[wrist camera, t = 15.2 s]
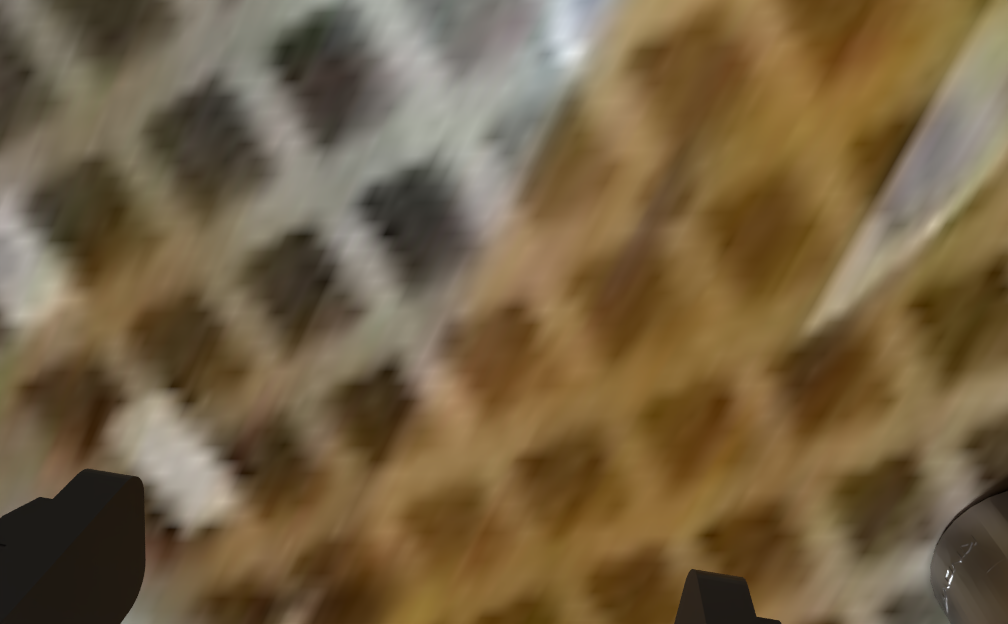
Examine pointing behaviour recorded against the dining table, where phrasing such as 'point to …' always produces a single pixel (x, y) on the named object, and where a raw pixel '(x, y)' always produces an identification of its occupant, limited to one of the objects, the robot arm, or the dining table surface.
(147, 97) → the dining table surface
